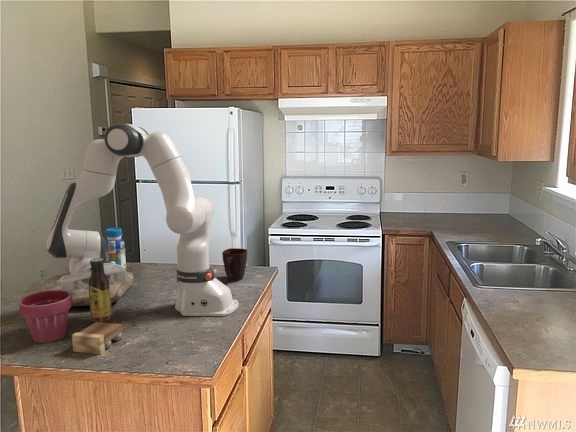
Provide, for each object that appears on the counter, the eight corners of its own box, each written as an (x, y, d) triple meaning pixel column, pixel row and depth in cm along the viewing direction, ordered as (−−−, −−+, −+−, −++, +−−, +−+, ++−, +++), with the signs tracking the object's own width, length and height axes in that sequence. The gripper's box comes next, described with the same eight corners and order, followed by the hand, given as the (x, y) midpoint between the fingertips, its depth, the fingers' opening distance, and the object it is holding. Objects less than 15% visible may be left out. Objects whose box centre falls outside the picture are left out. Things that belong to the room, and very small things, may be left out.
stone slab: (136, 283, 201) (135, 269, 200) (126, 308, 173) (124, 291, 172) (56, 288, 196) (55, 274, 195) (33, 315, 168) (31, 298, 167)
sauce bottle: (88, 319, 156) (81, 259, 152) (107, 313, 160) (101, 255, 157) (96, 324, 151) (90, 263, 148) (116, 318, 155) (110, 258, 152)
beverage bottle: (103, 273, 214) (99, 229, 211) (120, 269, 220) (117, 226, 217) (113, 277, 209) (109, 232, 205) (130, 273, 215) (127, 228, 212)
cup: (250, 276, 209) (250, 249, 207) (239, 286, 196) (238, 257, 194) (229, 274, 212) (228, 247, 210) (216, 284, 199) (215, 255, 196)
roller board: (123, 337, 148) (122, 322, 147) (100, 354, 137) (99, 337, 137) (97, 335, 150) (96, 320, 149) (73, 351, 140) (71, 335, 139)
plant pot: (27, 351, 140) (22, 309, 138) (19, 335, 151) (15, 295, 149) (79, 338, 148) (76, 298, 146) (69, 324, 159) (65, 286, 157)
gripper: (54, 271, 158) (62, 281, 147) (118, 260, 169) (130, 269, 158) (57, 289, 159) (64, 301, 148) (120, 277, 170) (132, 287, 159)
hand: (99, 284), depth 153 cm, fingers closed on sauce bottle, 6 cm apart
